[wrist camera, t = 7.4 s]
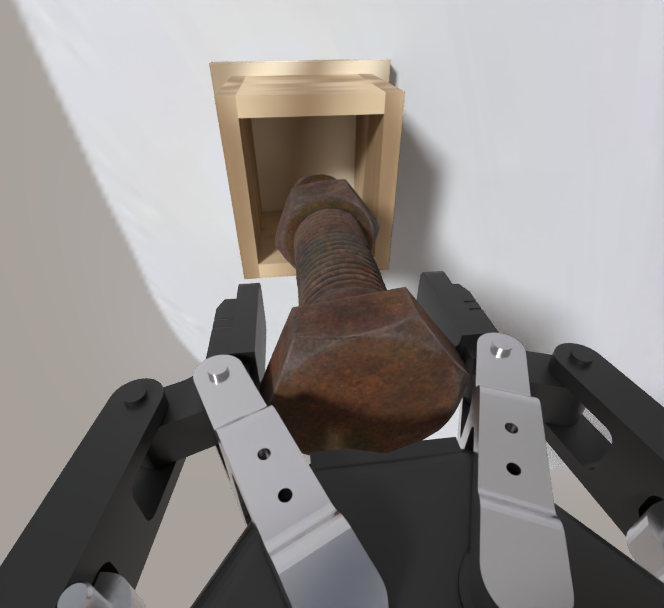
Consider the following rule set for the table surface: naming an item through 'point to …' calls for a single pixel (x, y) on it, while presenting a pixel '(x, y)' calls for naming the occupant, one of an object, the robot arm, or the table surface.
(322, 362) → the bolt
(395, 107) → the socket block
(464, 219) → the table surface
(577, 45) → the table surface
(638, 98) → the table surface
